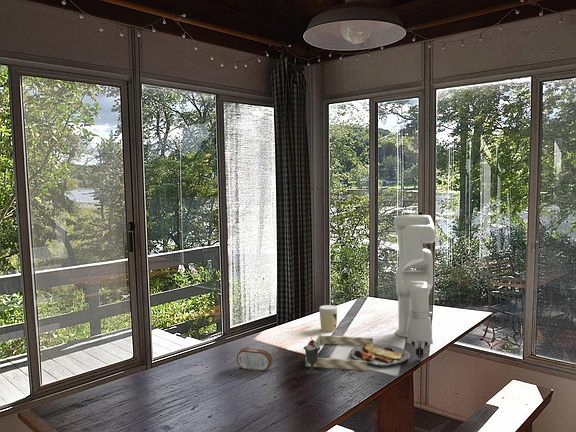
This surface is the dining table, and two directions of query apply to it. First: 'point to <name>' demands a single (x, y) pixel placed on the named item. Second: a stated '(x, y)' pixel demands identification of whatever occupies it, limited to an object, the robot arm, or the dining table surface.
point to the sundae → (312, 356)
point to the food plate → (379, 354)
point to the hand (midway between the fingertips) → (419, 357)
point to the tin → (254, 359)
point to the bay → (341, 362)
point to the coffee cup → (328, 318)
